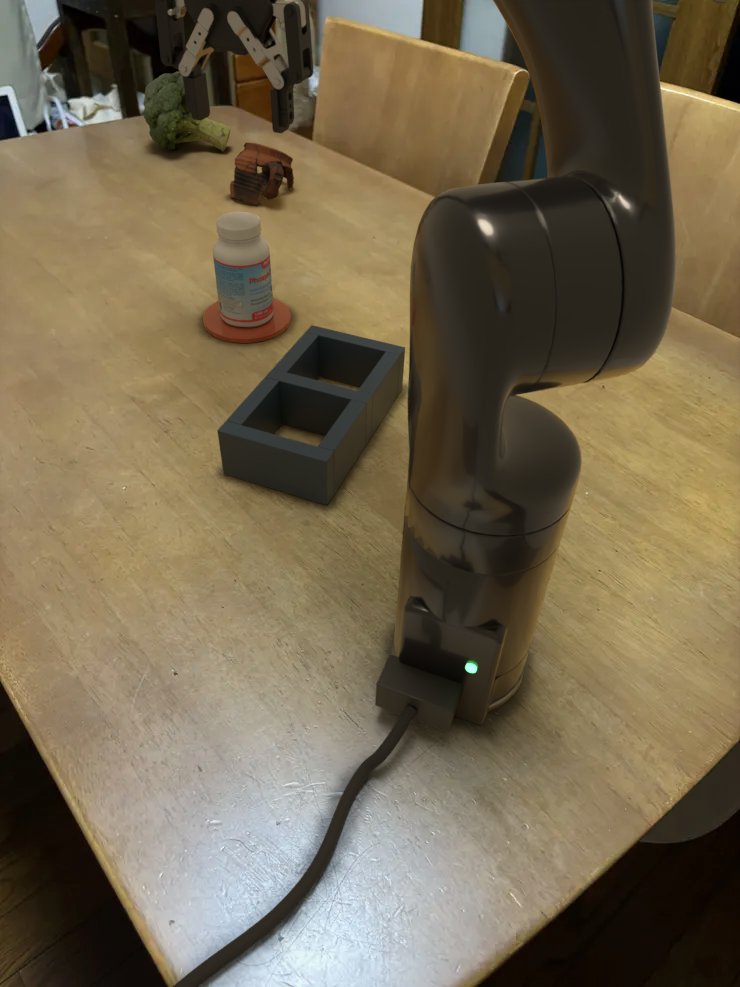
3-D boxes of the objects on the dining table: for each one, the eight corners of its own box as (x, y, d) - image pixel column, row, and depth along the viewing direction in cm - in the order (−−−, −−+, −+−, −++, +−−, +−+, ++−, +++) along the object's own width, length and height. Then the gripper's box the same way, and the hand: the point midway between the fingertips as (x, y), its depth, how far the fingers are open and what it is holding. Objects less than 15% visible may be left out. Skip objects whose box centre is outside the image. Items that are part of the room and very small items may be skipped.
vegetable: (214, 155, 119) (124, 104, 115) (210, 189, 131) (129, 143, 128) (247, 92, 120) (159, 39, 117) (240, 131, 133) (161, 84, 129)
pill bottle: (265, 332, 84) (257, 235, 76) (212, 325, 84) (200, 228, 77) (280, 306, 88) (274, 211, 80) (230, 299, 89) (220, 205, 81)
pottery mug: (216, 194, 114) (229, 137, 112) (271, 213, 120) (284, 159, 118) (248, 200, 105) (262, 139, 103) (305, 220, 111) (320, 162, 108)
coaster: (265, 351, 82) (265, 346, 82) (186, 331, 84) (185, 326, 84) (305, 309, 89) (305, 304, 88) (230, 292, 91) (230, 287, 91)
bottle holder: (327, 505, 65) (326, 461, 61) (223, 474, 67) (216, 430, 64) (402, 388, 77) (405, 347, 74) (312, 366, 80) (311, 324, 77)
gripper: (119, -94, 59) (154, 125, 70) (281, -82, 56) (291, 147, 67) (171, -101, 65) (196, 104, 75) (322, -91, 61) (326, 123, 72)
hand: (241, 124), depth 71 cm, fingers open, 8 cm apart
